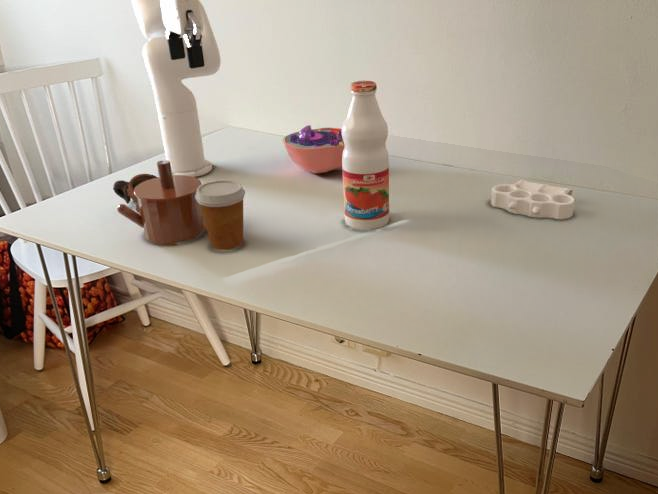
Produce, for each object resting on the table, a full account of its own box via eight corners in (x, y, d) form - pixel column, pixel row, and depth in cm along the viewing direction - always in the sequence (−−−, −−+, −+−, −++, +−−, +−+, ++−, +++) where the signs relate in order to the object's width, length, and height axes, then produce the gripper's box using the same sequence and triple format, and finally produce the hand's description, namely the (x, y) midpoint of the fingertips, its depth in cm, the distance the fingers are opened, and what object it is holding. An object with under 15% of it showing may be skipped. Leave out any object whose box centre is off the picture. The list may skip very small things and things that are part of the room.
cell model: (365, 181, 169) (364, 133, 163) (282, 183, 170) (277, 136, 163) (365, 158, 183) (363, 114, 177) (288, 160, 184) (284, 116, 177)
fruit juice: (387, 212, 152) (386, 76, 137) (391, 230, 145) (390, 88, 129) (344, 214, 152) (338, 78, 137) (345, 232, 145) (339, 90, 129)
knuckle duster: (585, 202, 153) (562, 226, 143) (508, 188, 162) (480, 210, 152) (588, 187, 151) (564, 210, 142) (509, 174, 160) (482, 195, 150)
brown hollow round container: (136, 231, 149) (127, 187, 144) (191, 216, 155) (184, 173, 149) (159, 251, 140) (150, 205, 135) (217, 234, 146) (210, 190, 141)
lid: (125, 190, 144) (118, 161, 141) (186, 175, 150) (181, 147, 147) (149, 209, 135) (143, 178, 131) (213, 193, 141) (209, 163, 137)
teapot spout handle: (122, 232, 143) (115, 203, 140) (122, 228, 145) (115, 200, 142) (223, 219, 147) (219, 190, 144) (222, 215, 149) (218, 187, 146)
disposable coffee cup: (212, 259, 136) (202, 200, 129) (197, 242, 143) (187, 185, 136) (258, 248, 139) (251, 190, 133) (241, 232, 147) (234, 175, 140)
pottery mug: (170, 197, 166) (170, 173, 158) (162, 229, 161) (161, 205, 154) (118, 187, 164) (115, 162, 157) (108, 218, 159) (105, 194, 152)
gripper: (209, -29, 132) (221, 68, 141) (174, -37, 143) (187, 53, 153) (171, -25, 128) (187, 73, 138) (138, -33, 140) (154, 58, 150)
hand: (187, 63), depth 146 cm, fingers open, 9 cm apart
